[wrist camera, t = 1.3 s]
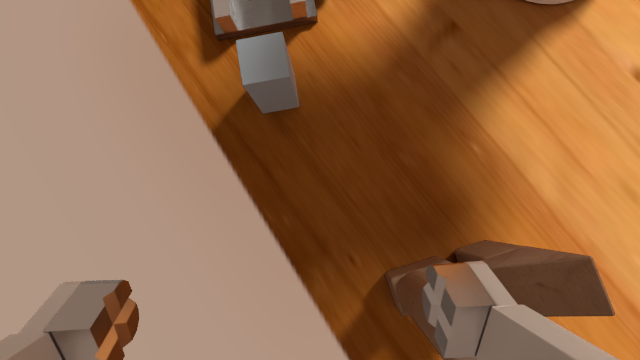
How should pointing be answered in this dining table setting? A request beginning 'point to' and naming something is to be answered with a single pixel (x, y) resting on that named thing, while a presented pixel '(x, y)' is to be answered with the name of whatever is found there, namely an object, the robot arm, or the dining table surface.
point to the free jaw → (298, 8)
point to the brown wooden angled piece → (513, 282)
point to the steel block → (268, 72)
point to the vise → (256, 16)
